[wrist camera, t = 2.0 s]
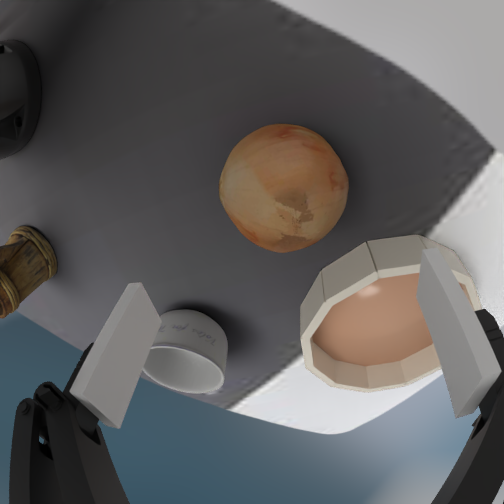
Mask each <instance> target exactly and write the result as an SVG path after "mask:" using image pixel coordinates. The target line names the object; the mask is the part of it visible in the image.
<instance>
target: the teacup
mask: <svg viewBox="0 0 504 504" xmlns="http://www.w3.org/2000/svg"><path fill="white" fill-rule="evenodd" d="M159 317H160V319H161V320H162V323H161V325H160V328H159V330H158V332H157V335H156V337H155V340H154V342H153V344H152V347H151V349H150V352H149V354H148V357H147V359H146V362H145V364H144V366H143V369H142V371H144V372H145V373H146V374H147V375H148V376H149V377H150V378H152V379H153V380H155V381H156V382H158V383H159V384H161V385H164V386H166V387H169V388H171V389H174V390H178V391H182V392H188V393H207V392H212V391H215V390H217V389H219V388H220V387H221V386H222V385H223V383H224V380H225V375H224V373H225V367H226V360H227V352H228V342H227V338H226V335H225V333H224V331H223V329H222V328H221V327H220V326H219V325H218V324H217V323H216V322H215V321H214V320H212V319H211V318H210V317H208V316H207V315H205V314H203V313H201V312H198V311H194V310H188V309H182V310H173V311H169V312H166V313H164V314H162V315H161V316H159Z"/></svg>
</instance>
